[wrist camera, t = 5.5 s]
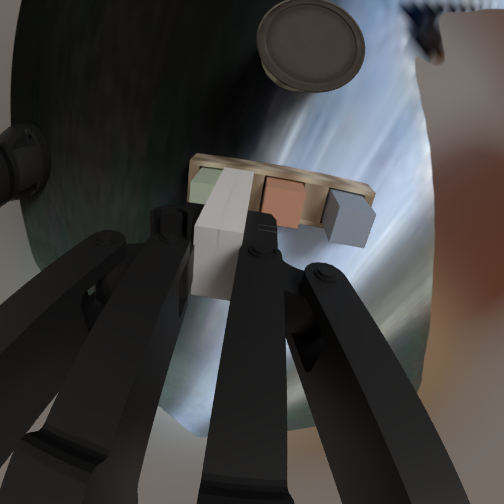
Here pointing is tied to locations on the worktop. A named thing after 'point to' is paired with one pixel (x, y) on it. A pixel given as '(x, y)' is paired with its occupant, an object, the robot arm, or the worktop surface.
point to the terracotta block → (283, 200)
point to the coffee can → (310, 45)
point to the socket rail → (312, 181)
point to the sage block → (203, 184)
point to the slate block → (347, 218)
